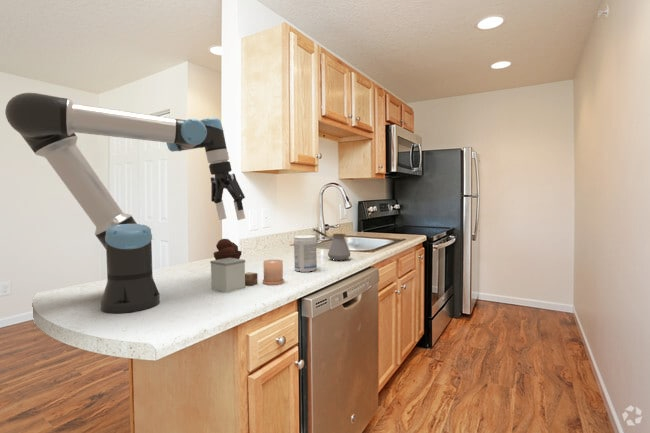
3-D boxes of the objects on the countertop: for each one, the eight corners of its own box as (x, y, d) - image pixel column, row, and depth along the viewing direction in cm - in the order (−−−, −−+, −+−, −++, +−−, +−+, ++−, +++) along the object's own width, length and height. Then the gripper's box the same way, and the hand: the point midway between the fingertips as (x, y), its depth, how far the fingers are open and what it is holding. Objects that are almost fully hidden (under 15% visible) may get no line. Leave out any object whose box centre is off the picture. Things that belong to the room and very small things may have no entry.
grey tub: (226, 293, 118) (226, 263, 117) (210, 289, 123) (210, 261, 122) (245, 287, 125) (245, 260, 124) (230, 284, 129) (229, 257, 129)
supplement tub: (318, 268, 157) (318, 235, 157) (314, 273, 148) (313, 237, 147) (297, 267, 159) (297, 234, 158) (291, 272, 150) (291, 237, 149)
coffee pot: (354, 258, 181) (354, 229, 180) (344, 262, 171) (344, 231, 170) (317, 255, 191) (317, 227, 191) (306, 258, 181) (306, 229, 180)
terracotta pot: (273, 286, 126) (273, 264, 126) (258, 283, 131) (257, 261, 130) (288, 282, 133) (288, 260, 132) (273, 279, 137) (272, 258, 137)
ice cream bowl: (235, 279, 137) (234, 240, 136) (208, 277, 139) (207, 239, 139) (246, 273, 148) (246, 237, 147) (221, 272, 150) (221, 236, 149)
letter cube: (250, 286, 126) (250, 275, 126) (241, 285, 128) (241, 273, 128) (257, 284, 130) (257, 272, 130) (248, 282, 132) (248, 271, 131)
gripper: (246, 156, 123) (259, 216, 126) (212, 164, 141) (224, 216, 144) (227, 159, 118) (240, 221, 121) (194, 167, 136) (207, 221, 139)
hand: (231, 219), depth 133 cm, fingers open, 13 cm apart
